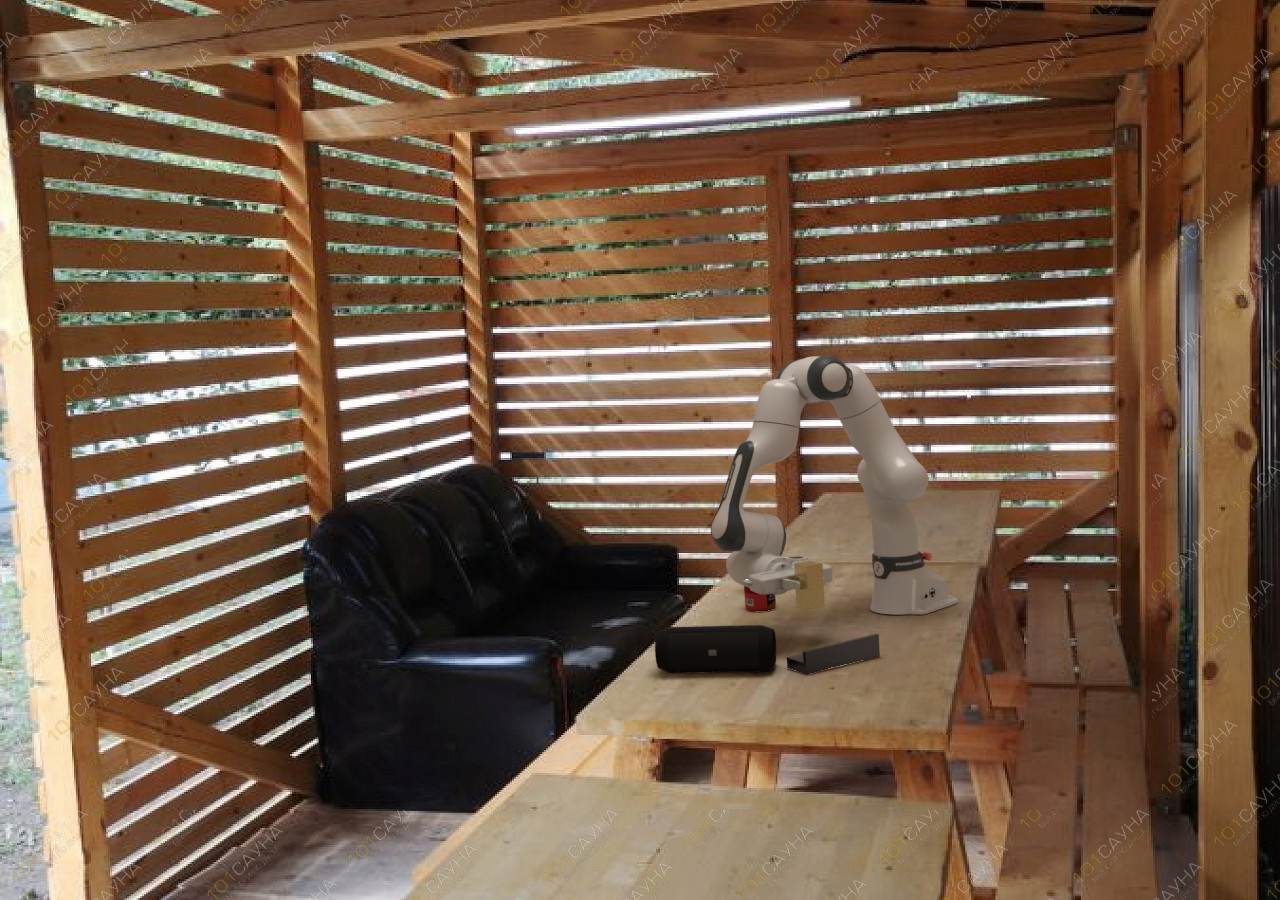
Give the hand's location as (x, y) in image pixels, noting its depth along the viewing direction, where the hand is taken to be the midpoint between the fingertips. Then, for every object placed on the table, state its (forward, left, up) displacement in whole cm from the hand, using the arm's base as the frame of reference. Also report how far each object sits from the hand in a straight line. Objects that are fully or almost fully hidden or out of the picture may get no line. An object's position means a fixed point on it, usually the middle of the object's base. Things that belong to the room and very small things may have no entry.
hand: (811, 583), depth 301 cm
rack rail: (+2, +9, -16) cm, 18 cm away
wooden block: (0, -1, -5) cm, 6 cm away
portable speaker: (+24, -4, -16) cm, 29 cm away
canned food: (-16, -44, -16) cm, 50 cm away
